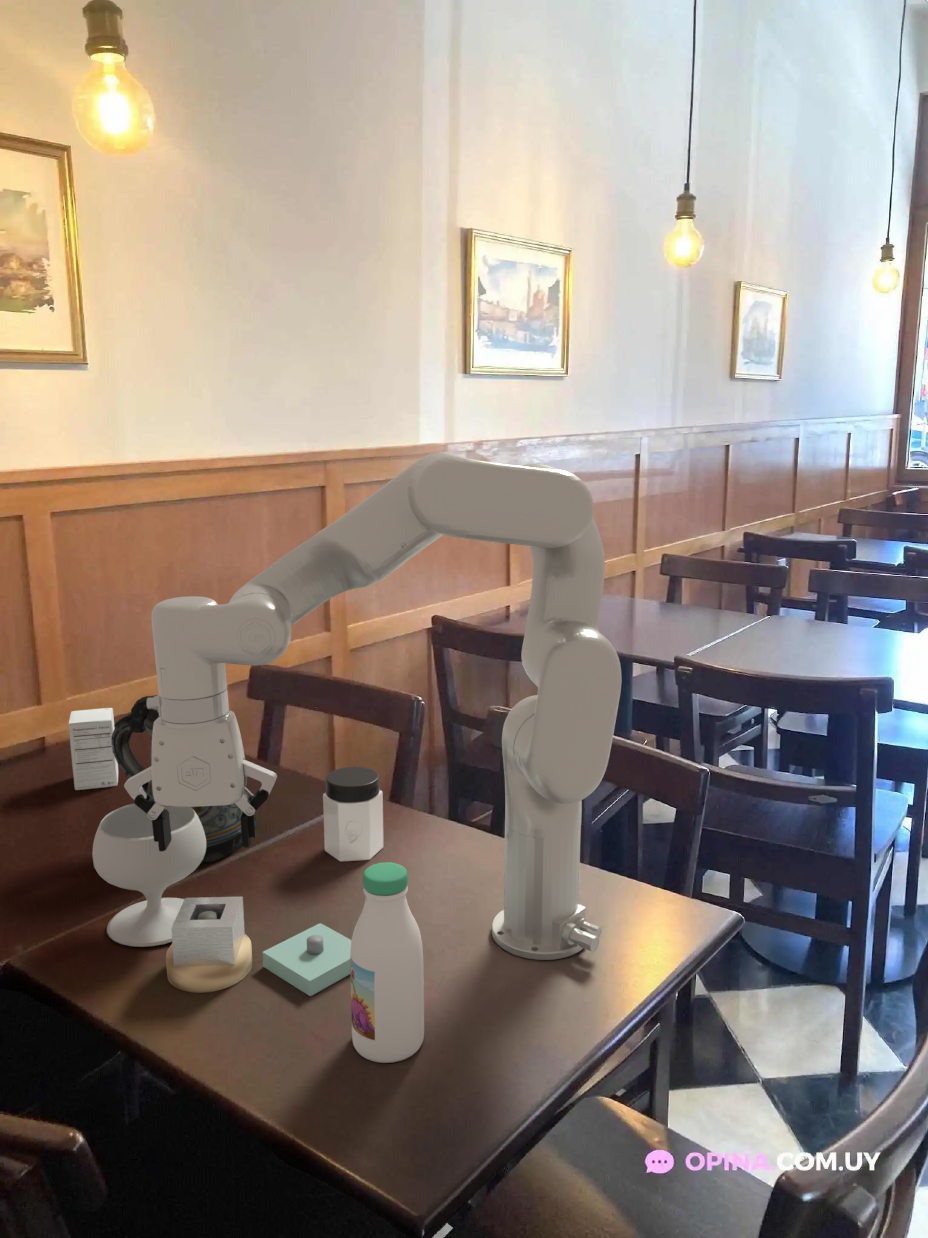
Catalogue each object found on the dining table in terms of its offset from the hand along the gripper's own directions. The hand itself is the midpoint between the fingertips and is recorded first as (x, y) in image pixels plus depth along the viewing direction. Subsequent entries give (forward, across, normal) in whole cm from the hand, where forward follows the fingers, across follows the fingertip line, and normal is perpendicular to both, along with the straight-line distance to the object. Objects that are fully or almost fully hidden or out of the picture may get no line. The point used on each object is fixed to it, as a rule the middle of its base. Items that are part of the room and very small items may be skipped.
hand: (206, 844), depth 114 cm
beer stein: (+16, -12, +34) cm, 40 cm away
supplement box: (+16, -33, +61) cm, 71 cm away
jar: (+17, +15, +31) cm, 38 cm away
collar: (+14, -1, 0) cm, 14 cm away
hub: (+16, -1, 0) cm, 16 cm away
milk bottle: (+17, +21, -15) cm, 31 cm away
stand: (+16, +12, 0) cm, 20 cm away
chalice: (+16, -10, +10) cm, 22 cm away
